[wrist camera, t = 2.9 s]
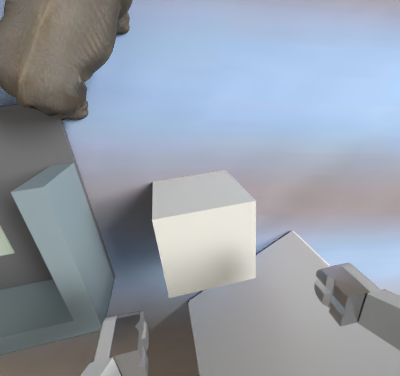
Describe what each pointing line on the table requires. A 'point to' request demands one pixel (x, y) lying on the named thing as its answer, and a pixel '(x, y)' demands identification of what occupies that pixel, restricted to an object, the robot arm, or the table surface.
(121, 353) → the robot arm
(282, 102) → the table surface
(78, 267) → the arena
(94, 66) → the rhino figurine
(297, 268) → the gable box
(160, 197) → the block
